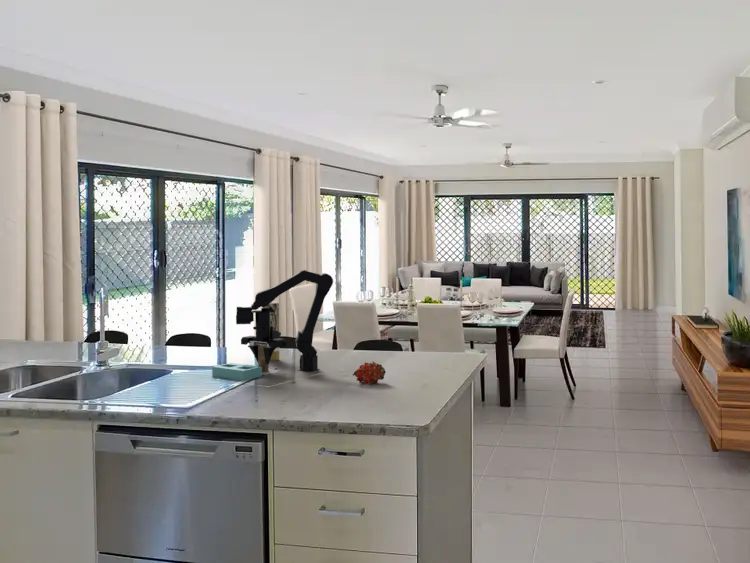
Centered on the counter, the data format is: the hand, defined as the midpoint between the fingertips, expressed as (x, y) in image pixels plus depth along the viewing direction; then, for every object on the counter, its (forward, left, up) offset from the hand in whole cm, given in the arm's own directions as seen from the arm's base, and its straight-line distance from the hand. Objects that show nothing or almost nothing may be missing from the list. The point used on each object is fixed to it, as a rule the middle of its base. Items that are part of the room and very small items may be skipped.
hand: (263, 363), depth 292 cm
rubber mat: (0, 0, -4) cm, 4 cm away
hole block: (+2, +13, -4) cm, 13 cm away
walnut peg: (0, 0, -3) cm, 3 cm away
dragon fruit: (-47, -4, -4) cm, 47 cm away
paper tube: (+17, -24, -4) cm, 30 cm away
